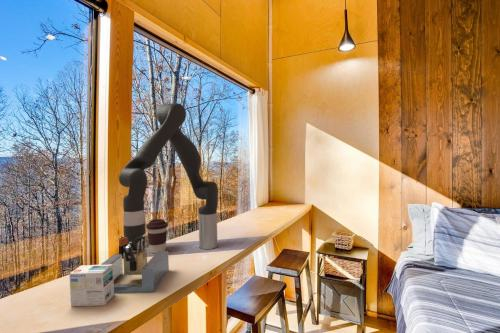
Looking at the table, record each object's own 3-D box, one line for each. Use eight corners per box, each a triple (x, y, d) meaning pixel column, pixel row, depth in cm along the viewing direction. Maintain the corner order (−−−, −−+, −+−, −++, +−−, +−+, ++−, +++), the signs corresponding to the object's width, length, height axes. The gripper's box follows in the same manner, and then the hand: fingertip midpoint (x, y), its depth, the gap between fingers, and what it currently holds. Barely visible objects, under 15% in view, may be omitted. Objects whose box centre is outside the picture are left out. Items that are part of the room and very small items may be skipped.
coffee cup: (161, 255, 124) (160, 223, 123) (142, 254, 126) (141, 222, 125) (172, 247, 134) (171, 218, 133) (154, 246, 136) (153, 217, 135)
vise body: (104, 271, 107) (103, 252, 107) (168, 270, 107) (168, 251, 107) (77, 293, 90) (76, 270, 90) (153, 292, 91) (153, 269, 90)
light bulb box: (115, 294, 89) (113, 263, 89) (104, 306, 83) (103, 272, 82) (82, 295, 89) (81, 264, 89) (69, 307, 82) (68, 273, 82)
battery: (115, 257, 123) (114, 235, 122) (127, 252, 129) (127, 232, 128) (121, 258, 121) (120, 237, 120) (133, 253, 127) (133, 233, 126)
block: (129, 270, 101) (128, 249, 100) (147, 270, 101) (146, 249, 100) (124, 275, 97) (123, 253, 96) (143, 274, 97) (142, 253, 96)
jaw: (107, 273, 105) (106, 254, 104) (124, 273, 105) (123, 254, 105) (89, 289, 93) (88, 267, 92) (108, 288, 93) (107, 267, 93)
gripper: (136, 227, 91) (138, 276, 92) (151, 217, 105) (152, 260, 106) (114, 227, 91) (116, 276, 92) (132, 218, 105) (134, 260, 106)
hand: (136, 267), depth 99 cm, fingers closed on block, 4 cm apart
